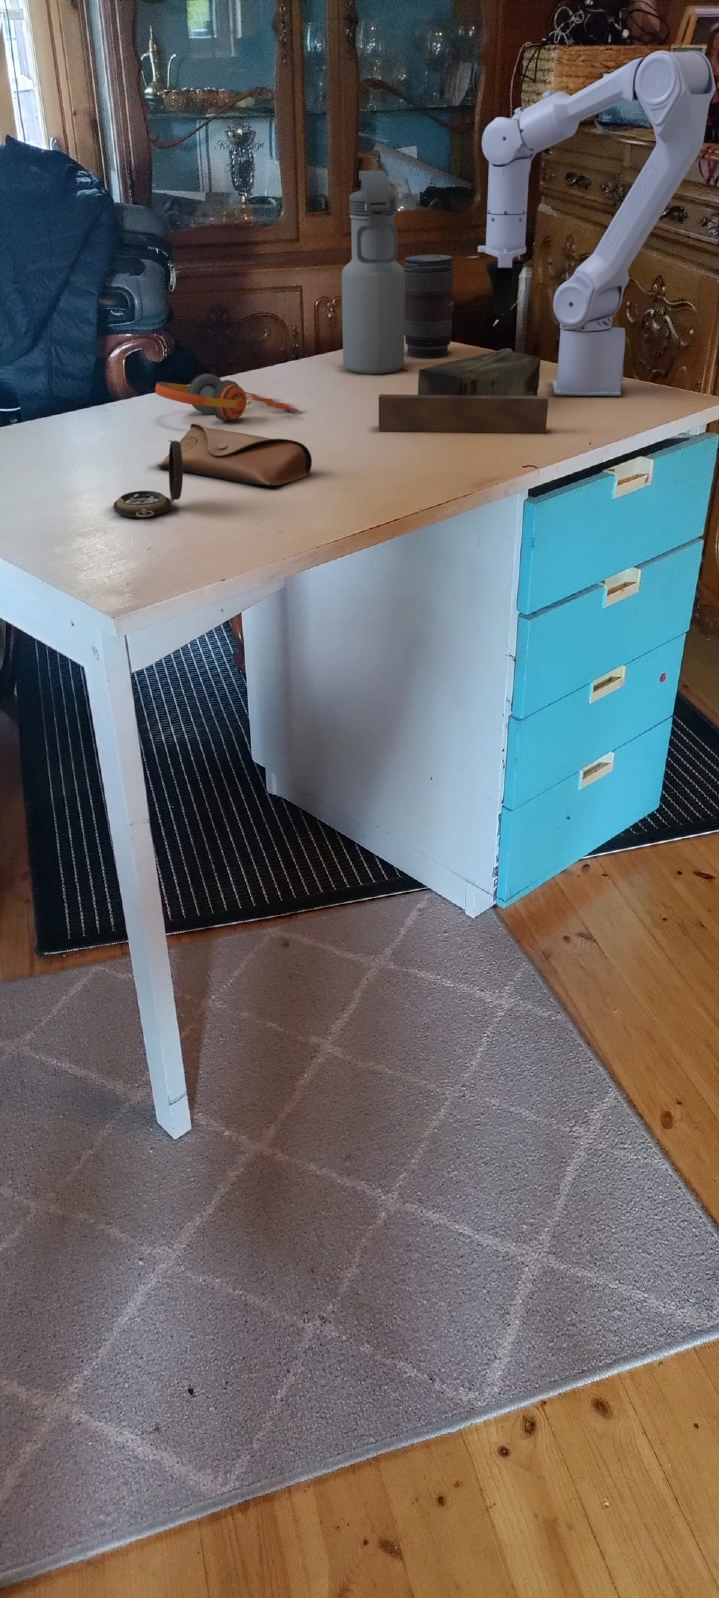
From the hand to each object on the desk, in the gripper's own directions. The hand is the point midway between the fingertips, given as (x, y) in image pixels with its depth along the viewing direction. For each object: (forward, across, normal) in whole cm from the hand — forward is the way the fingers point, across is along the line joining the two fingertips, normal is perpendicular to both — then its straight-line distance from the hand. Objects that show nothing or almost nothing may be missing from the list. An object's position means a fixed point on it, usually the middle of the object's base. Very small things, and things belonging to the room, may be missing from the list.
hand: (502, 313), depth 179 cm
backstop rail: (+9, +32, -5) cm, 34 cm away
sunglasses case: (+10, +52, -32) cm, 62 cm away
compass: (+10, +68, -38) cm, 78 cm away
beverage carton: (+10, +19, -3) cm, 21 cm away
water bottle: (+10, -6, -20) cm, 23 cm away
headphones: (+10, +25, -38) cm, 46 cm away
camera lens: (+10, -18, -12) cm, 24 cm away
